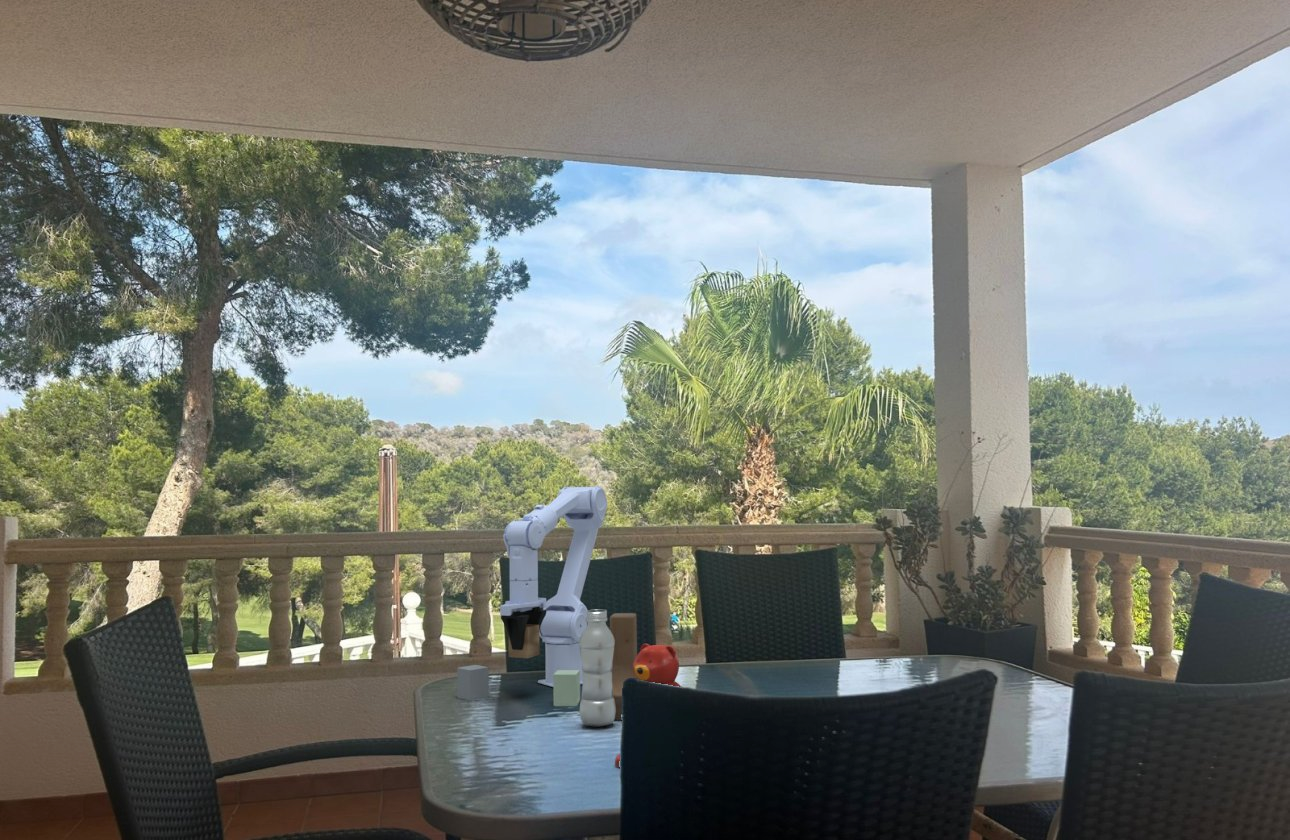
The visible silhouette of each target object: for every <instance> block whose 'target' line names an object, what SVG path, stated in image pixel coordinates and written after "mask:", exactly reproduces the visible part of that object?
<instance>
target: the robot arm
mask: <svg viewBox="0 0 1290 840" xmlns="http://www.w3.org/2000/svg"><path fill="white" fill-rule="evenodd" d="M607 507H608V500H607V495H606V491H605V489H604V488H603V487H602V486H601V485H596V486H564V487H562V488H561V489H559V490H558V494H557V497H556V498H554V499H553V500H552V501H551V502H550V503H549V504H548V505H544V504H537V505H535V506H534V509H533V510H531V512H529V513H528V514H524V515H523V517H522V518H520V520H512V521H511V522H510V523H508V524H507V525H506V526H505V529H504V532H503V535H502V536H503V537H502V538H503V543H504V545H505V548H506V555H507V557H508V558H509V600H506V601H505V603H504V604H502V605H500V606H499V607H500V608H499V612H500V615H499V616H500V619H501V621H502V622H503V625H504V627H505V629H506V631H507V634H508V639H509V638H510V642H511V646H512V650H522V649H523V645H524V634H525V628H526V624H533V625H539V638H541V639H542V641H541V642H542V643H545V645H544V647H545V648H544V649H545V650H544V651H545V653H544V654H545V679H539V680H537V683H538V684H542V685H543V686H544V685H545V686H548V687H552V688H553V674H554V673H555V672H556V671H557V670H580V685H582V684H583V675H582V674H583V671H582V661H581V654H580V647H579V640H580V636H581V634H582V633H583V631H584V629H585V628H586V626H587V625H588V622H586V618H587V611H588V608H587V606H586V605H585V604H584V603H583V602H582V601H581V597H582V594H583V590H584V585H585V581H586V578H587V575H588V570H589V567H590V563H591V559H592V555H593V551H594V549H595V544H596V540H597V536H598V532H599V528H600V527H602V526H603V522H604V520H605V515H606V511H607ZM561 517H563V518H564V520H565V523H566V524H567V526H568V527H569V528H571V529H572V530H573V534H572V539H571V542H570V546H569V549H568V553H567V556H566V560H565V563H564V567H563V571H562V574H561V578H560V580H559V581H560V582H559V586H558V588H557V589H558V590H557V591H556V594H555V595H554V596H553V597H550V598H549V599H548V600H547V598H546V597H539V578H538V577H539V563H538V562H539V559H538V558H539V557H538V556H539V555H538V550H539V549H540V548H541V547H542V545H543V542H544V539H545V538H546V536H547V535H548V534H549V533H550V532H551V531H553V530H554V529H555V528H556V527H557V525H558V521H559V519H560V518H561Z"/></svg>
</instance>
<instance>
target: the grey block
mask: <svg viewBox="0 0 1290 840" xmlns="http://www.w3.org/2000/svg"><path fill="white" fill-rule="evenodd" d="M489 669H490V668H489V666H485V665H484V666H483V665H479V664H472V665H465V666H459V667H456V677H457V678H456V680H457V681H456V683H457V684H456V687H457V688H456V691H457V692H456V695H457V696H456V698H458V699H461V700H464V701H465V700H466V701H469V702H472V701H477V700H482V699H485V698H486V699H487V698H489V697H490V696H489V694H490V692H489V689H490V688H489V687H490V686H489V682H490V681H489V675H490V674H489V671H490V670H489Z"/></svg>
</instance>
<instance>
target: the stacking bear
mask: <svg viewBox="0 0 1290 840" xmlns="http://www.w3.org/2000/svg"><path fill="white" fill-rule="evenodd" d="M679 669H680V662H679V658H678V656H677V651H676V648H675V647H674V646H672V645H664V644H654V645H650V644H649V643H643V644H642V645H641V646H640V651H639V652H638V653H637V657H636V659H635V661H634V664H633V670H634V674H635V676H636V678H637V680H638V679H639V680H644V681H648V682H655V683H661V684H668V685H673V686H679V687H682V686H681V685H680V683H678V682H677V681H676V679H677V677H678V674H679ZM619 761H620V753H618V754H617V755H616V756H615V759H614V766H615V767H616V768H619Z"/></svg>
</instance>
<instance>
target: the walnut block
mask: <svg viewBox="0 0 1290 840" xmlns="http://www.w3.org/2000/svg"><path fill="white" fill-rule="evenodd" d="M539 655H540V636H539V625H533V624H526V628H525V634H524V645H523V649H522V650H512V646H511V642H510V638H509V637H508V658H517V659H519V658H521V659H530V658H533V657H536V656H539Z"/></svg>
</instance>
